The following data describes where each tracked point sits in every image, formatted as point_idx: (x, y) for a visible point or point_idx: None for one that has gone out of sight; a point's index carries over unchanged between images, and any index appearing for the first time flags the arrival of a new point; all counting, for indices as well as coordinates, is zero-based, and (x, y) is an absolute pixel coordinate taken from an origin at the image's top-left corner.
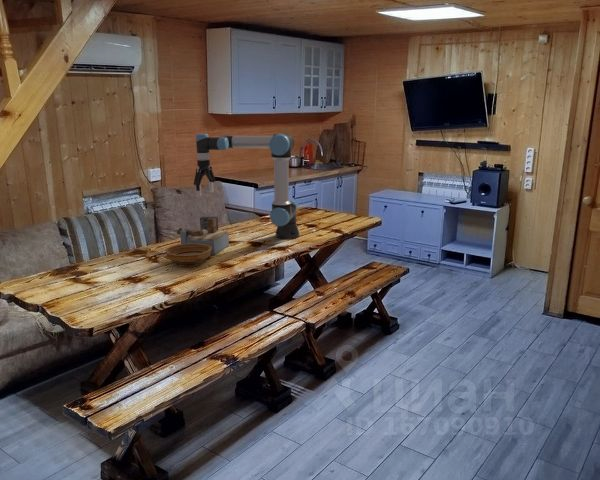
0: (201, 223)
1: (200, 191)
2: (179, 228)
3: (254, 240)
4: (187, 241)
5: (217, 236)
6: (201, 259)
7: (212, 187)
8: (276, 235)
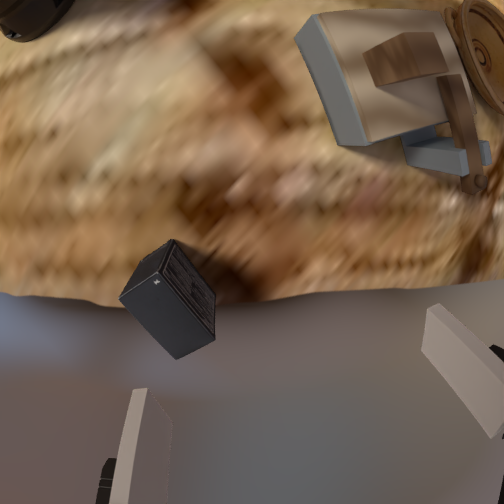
0: (211, 318)
1: (474, 337)
2: (486, 183)
3: (153, 17)
4: (446, 140)
5: (411, 11)
6: (485, 14)
7: (137, 449)
8: (68, 2)
